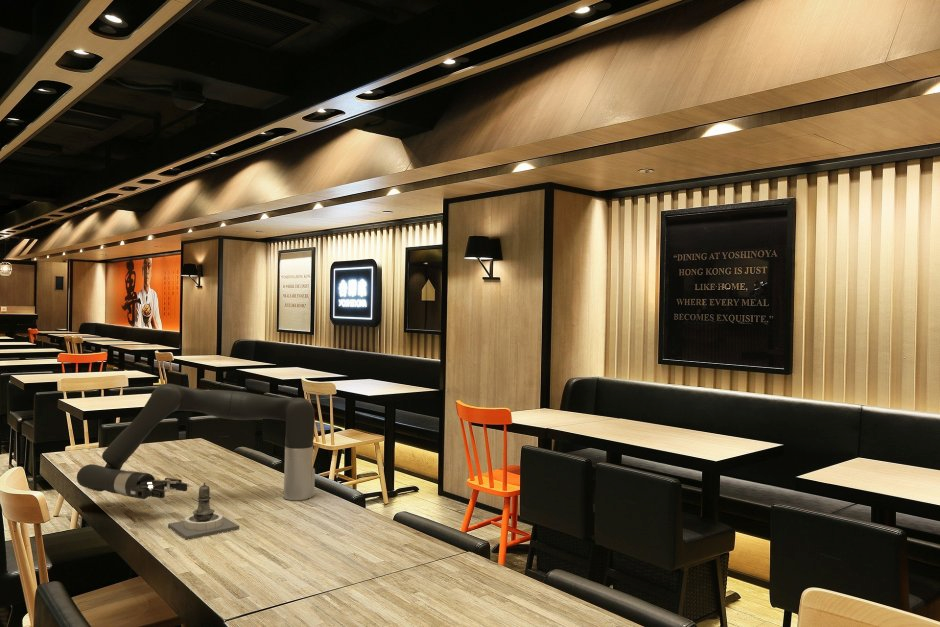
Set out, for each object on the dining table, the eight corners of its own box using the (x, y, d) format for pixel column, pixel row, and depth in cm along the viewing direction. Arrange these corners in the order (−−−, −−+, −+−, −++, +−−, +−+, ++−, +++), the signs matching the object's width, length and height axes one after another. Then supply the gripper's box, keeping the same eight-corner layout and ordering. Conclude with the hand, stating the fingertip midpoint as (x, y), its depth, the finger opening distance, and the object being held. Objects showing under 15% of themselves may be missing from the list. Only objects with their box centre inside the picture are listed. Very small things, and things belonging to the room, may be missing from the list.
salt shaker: (206, 528, 192) (207, 485, 192) (188, 526, 193) (189, 483, 193) (218, 521, 198) (219, 480, 198) (200, 520, 199) (201, 479, 199)
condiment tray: (219, 517, 206) (219, 507, 206) (239, 529, 196) (239, 518, 196) (168, 527, 196) (168, 516, 196) (186, 540, 186) (186, 529, 185)
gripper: (114, 477, 199) (156, 483, 193) (153, 467, 213) (194, 473, 207) (114, 502, 199) (155, 510, 193) (153, 491, 213) (193, 497, 207)
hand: (175, 491), depth 200 cm, fingers open, 8 cm apart
